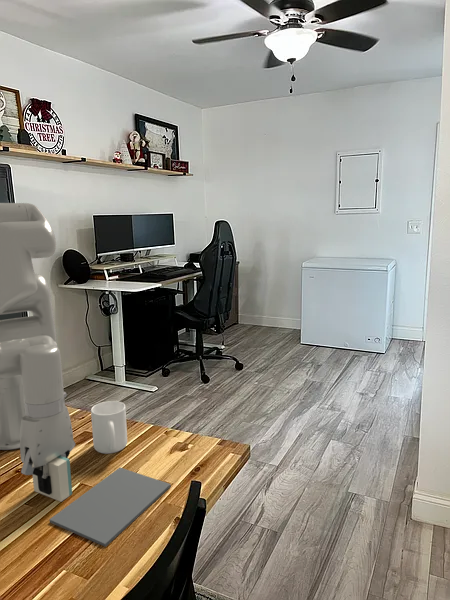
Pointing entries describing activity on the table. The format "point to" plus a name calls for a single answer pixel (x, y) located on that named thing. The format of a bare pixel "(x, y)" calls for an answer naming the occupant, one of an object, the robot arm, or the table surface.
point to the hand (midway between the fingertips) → (52, 486)
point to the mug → (109, 426)
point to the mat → (110, 506)
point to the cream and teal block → (57, 479)
